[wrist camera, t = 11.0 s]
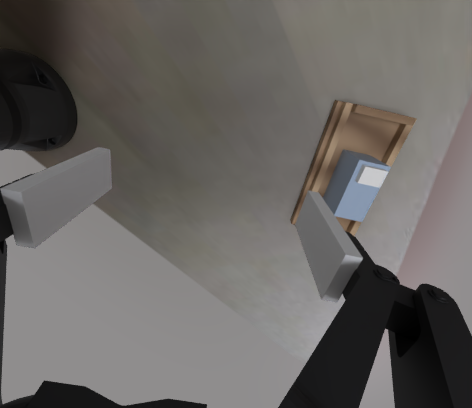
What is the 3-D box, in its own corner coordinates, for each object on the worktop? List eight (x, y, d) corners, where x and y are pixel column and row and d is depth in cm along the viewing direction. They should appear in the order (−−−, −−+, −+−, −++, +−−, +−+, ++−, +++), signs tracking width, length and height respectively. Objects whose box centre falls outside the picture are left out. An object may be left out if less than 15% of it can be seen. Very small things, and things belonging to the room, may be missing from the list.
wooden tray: (349, 233, 46) (358, 246, 42) (290, 220, 46) (294, 232, 42) (409, 118, 36) (428, 121, 32) (335, 100, 36) (345, 101, 32)
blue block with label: (346, 203, 42) (364, 225, 35) (322, 198, 42) (335, 219, 35) (369, 155, 38) (395, 169, 31) (343, 149, 38) (362, 161, 31)
